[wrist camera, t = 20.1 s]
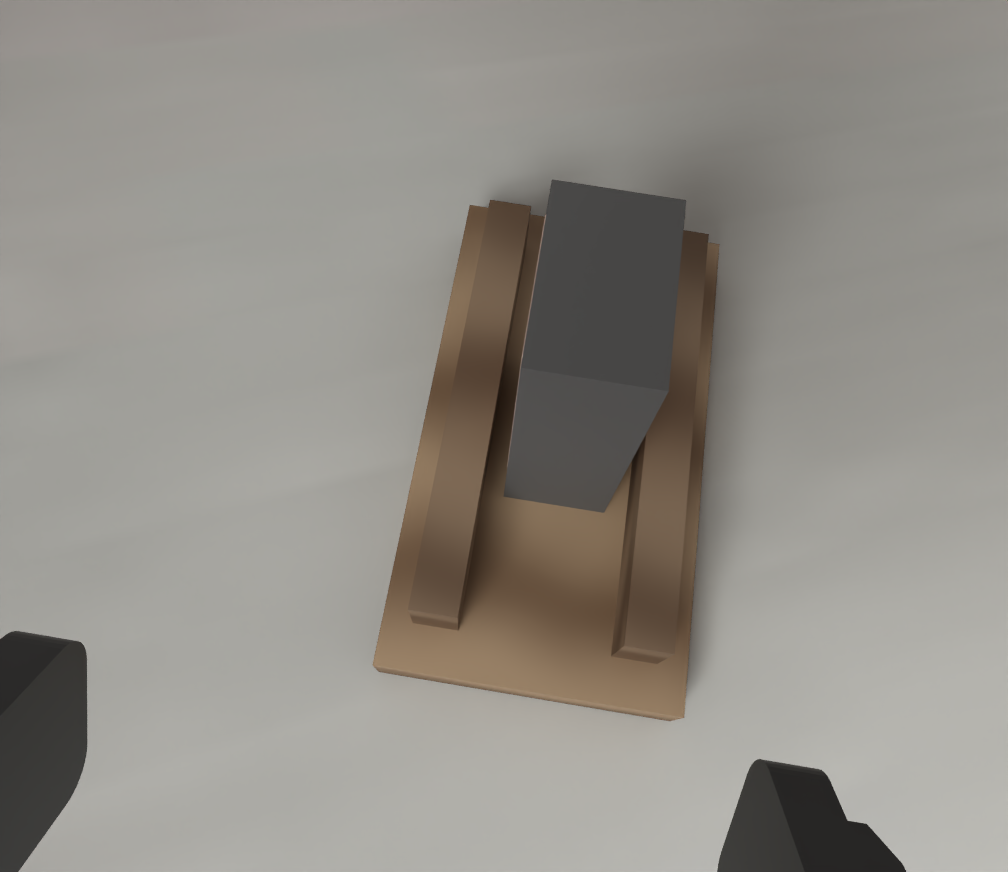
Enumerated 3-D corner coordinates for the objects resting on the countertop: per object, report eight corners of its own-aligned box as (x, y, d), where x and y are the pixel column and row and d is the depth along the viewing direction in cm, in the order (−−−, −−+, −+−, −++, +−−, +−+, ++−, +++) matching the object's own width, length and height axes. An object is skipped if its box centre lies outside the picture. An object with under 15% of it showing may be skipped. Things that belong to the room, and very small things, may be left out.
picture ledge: (669, 721, 28) (704, 712, 24) (378, 671, 29) (363, 655, 24) (706, 272, 35) (738, 204, 31) (469, 234, 35) (470, 162, 31)
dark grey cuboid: (604, 513, 29) (670, 391, 20) (502, 496, 29) (519, 367, 20) (621, 371, 31) (687, 200, 22) (525, 356, 31) (550, 179, 22)
